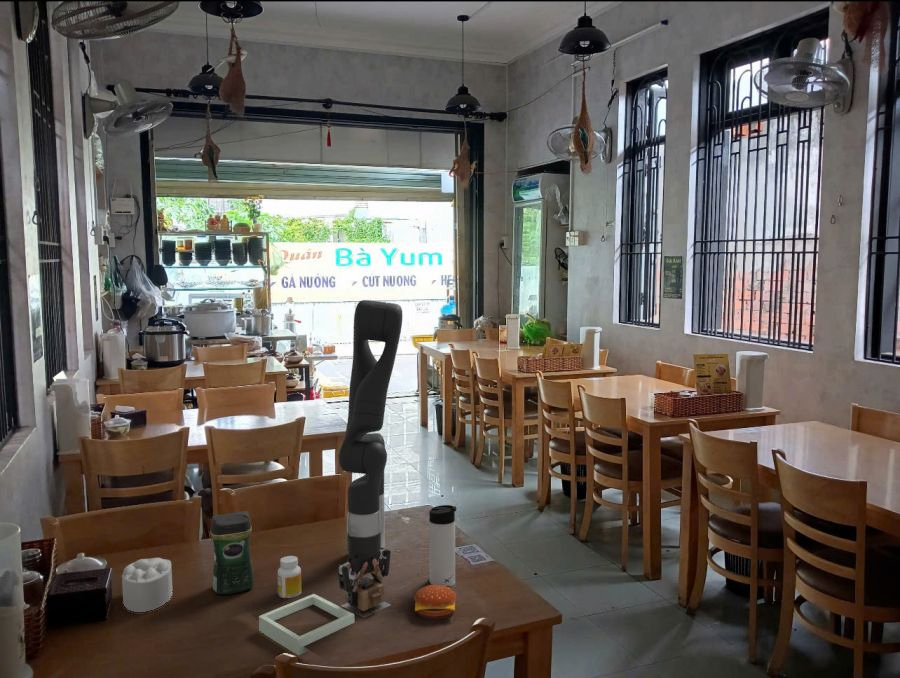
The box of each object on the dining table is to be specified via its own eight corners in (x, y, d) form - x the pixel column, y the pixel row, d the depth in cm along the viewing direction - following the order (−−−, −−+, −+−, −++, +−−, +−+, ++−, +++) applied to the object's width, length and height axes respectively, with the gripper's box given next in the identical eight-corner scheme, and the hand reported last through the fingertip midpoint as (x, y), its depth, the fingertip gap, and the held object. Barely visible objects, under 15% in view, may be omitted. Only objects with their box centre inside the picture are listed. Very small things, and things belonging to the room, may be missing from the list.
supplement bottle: (306, 595, 170) (305, 556, 169) (294, 605, 165) (292, 564, 164) (286, 592, 172) (285, 553, 171) (273, 602, 167) (272, 561, 166)
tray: (259, 630, 154) (258, 616, 154) (314, 607, 164) (313, 593, 164) (298, 655, 144) (298, 639, 144) (354, 629, 155) (354, 614, 154)
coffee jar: (251, 578, 180) (249, 506, 178) (256, 591, 173) (253, 516, 171) (211, 584, 176) (208, 511, 175) (213, 598, 169) (210, 521, 167)
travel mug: (453, 593, 171) (453, 512, 169) (426, 591, 173) (426, 510, 170) (458, 582, 177) (458, 503, 175) (432, 579, 179) (432, 501, 177)
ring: (346, 602, 162) (345, 585, 162) (366, 593, 167) (366, 576, 166) (367, 613, 157) (367, 595, 157) (388, 603, 161) (387, 586, 161)
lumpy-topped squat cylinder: (174, 585, 176) (173, 551, 175) (167, 610, 163) (166, 573, 162) (129, 590, 173) (127, 556, 172) (118, 616, 161) (116, 578, 160)
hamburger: (458, 626, 156) (457, 597, 155) (413, 627, 155) (413, 598, 155) (455, 605, 165) (455, 578, 164) (414, 607, 165) (413, 579, 164)
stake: (341, 612, 162) (340, 580, 161) (368, 599, 168) (367, 569, 167) (364, 623, 157) (363, 591, 156) (391, 611, 163) (390, 579, 162)
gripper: (377, 516, 168) (378, 585, 170) (327, 533, 158) (329, 606, 160) (399, 525, 163) (399, 595, 165) (349, 543, 153) (350, 618, 155)
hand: (364, 600), depth 162 cm, fingers closed on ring, 6 cm apart
